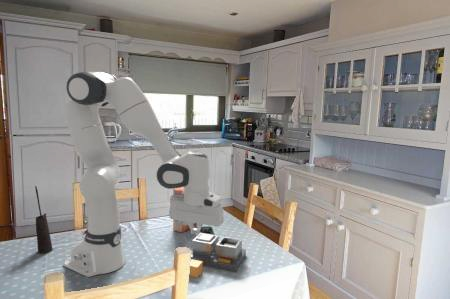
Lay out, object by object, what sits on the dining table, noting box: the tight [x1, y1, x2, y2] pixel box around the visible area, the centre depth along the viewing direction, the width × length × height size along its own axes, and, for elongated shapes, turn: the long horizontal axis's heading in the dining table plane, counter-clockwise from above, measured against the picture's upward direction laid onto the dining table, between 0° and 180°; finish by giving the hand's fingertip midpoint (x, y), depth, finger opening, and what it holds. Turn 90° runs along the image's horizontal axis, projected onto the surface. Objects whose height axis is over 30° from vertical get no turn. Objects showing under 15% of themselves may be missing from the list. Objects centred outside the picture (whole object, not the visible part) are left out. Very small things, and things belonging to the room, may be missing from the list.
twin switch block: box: [190, 233, 247, 273], centre depth 124 cm, size 20×14×8 cm
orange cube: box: [189, 259, 204, 278], centre depth 114 cm, size 4×4×4 cm
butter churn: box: [34, 185, 54, 254], centre depth 128 cm, size 9×10×28 cm
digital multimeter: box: [200, 226, 216, 235], centre depth 144 cm, size 8×15×3 cm, turn 11°
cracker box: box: [172, 187, 197, 233], centre depth 154 cm, size 14×6×21 cm, turn 155°
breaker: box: [198, 234, 214, 243], centre depth 126 cm, size 5×5×3 cm
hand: (195, 233), depth 113 cm, fingers closed
